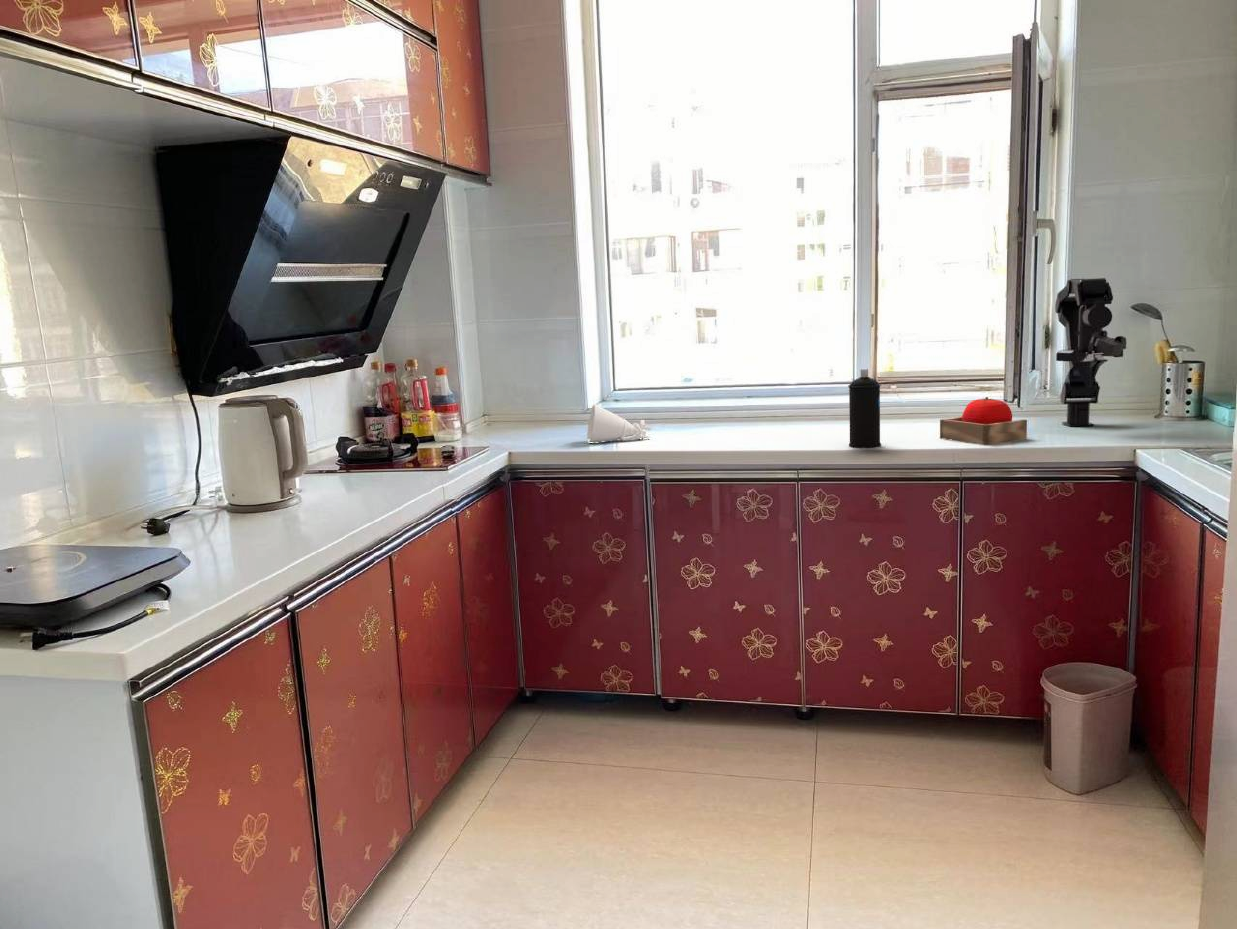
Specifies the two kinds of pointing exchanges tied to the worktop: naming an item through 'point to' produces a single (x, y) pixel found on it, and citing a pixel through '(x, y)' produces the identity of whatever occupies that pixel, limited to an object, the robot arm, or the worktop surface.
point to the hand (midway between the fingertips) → (1088, 386)
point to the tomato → (987, 412)
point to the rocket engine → (613, 427)
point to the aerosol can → (864, 412)
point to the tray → (983, 431)
